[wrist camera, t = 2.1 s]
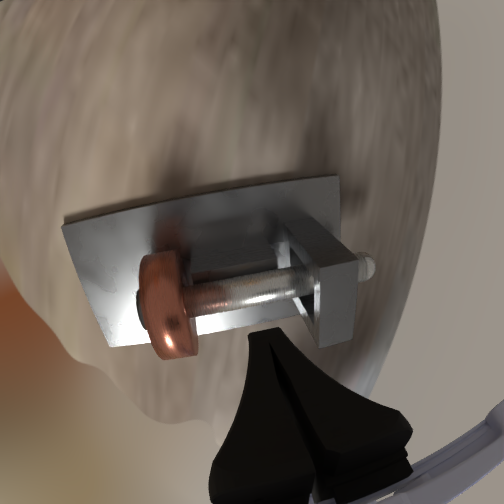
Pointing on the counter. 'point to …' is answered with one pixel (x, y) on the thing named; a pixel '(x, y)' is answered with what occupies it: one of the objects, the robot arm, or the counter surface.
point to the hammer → (210, 297)
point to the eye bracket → (223, 254)
